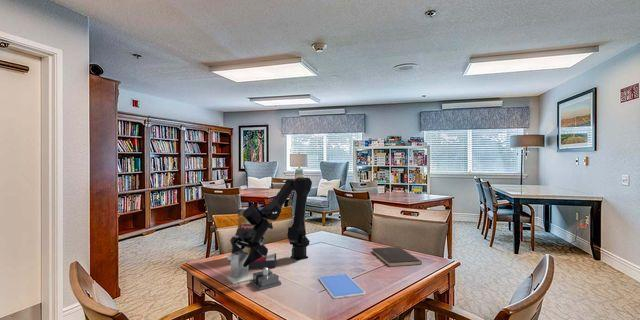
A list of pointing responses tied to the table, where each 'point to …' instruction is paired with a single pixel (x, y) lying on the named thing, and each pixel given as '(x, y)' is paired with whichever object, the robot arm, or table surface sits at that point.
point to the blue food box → (245, 225)
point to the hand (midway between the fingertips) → (236, 264)
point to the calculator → (264, 262)
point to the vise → (265, 279)
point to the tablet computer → (341, 286)
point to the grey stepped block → (239, 265)
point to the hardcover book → (396, 256)
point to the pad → (238, 281)
